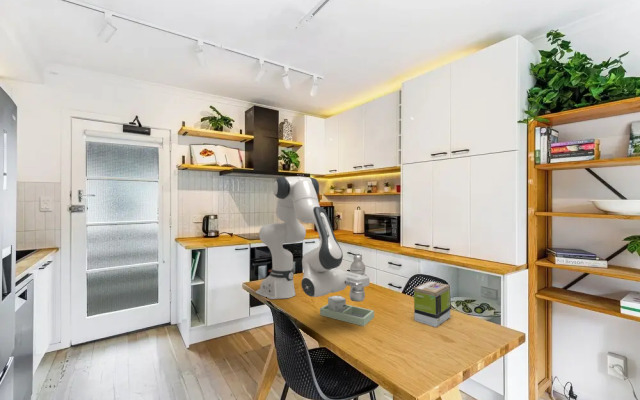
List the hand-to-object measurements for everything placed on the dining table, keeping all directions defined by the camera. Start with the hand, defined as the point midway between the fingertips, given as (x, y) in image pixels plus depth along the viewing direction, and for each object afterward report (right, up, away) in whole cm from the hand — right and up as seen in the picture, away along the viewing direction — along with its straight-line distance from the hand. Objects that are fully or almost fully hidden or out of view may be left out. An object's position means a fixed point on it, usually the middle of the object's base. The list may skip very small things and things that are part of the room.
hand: (359, 274), depth 130 cm
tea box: (+32, -20, 0) cm, 38 cm away
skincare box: (-9, -19, +5) cm, 22 cm away
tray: (-5, -19, +2) cm, 20 cm away
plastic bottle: (-1, -12, -1) cm, 12 cm away
